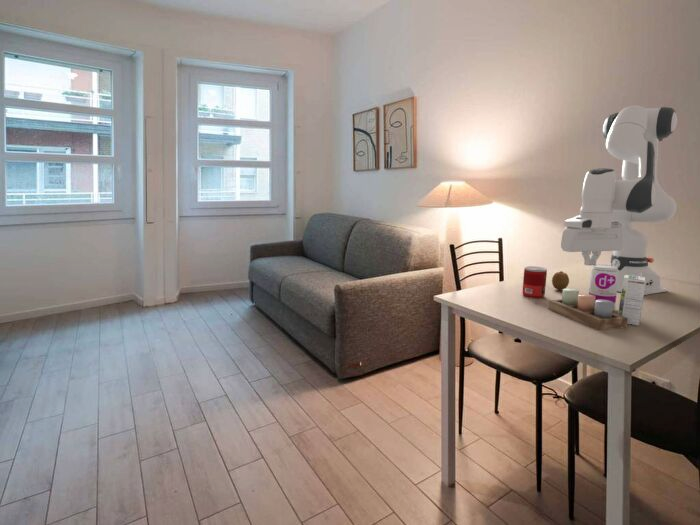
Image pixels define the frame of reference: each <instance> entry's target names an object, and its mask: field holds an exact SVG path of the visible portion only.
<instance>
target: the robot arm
mask: <svg viewBox="0 0 700 525" xmlns="http://www.w3.org/2000/svg"><path fill="white" fill-rule="evenodd" d="M677 125H678V116H677V111H676V110H675V109H674V108H673V107H666V106H661V107H649V108H647V107H644V106H643V105H638V104H637V105H636V104H634V105H628V106H626V107H624V108H622V109H621V111H619V112H615V113H612V114H610V115H609V116H608V117H607V118H605V120H604V123H603V126H602V133H603V137H604V139H605V148H606V150H607V152H608V153H609V155H611V157H613V158H615V159H617V160H620V161H622V166H621V180H619V179H617V178H616V170H615V169H613V168H595V169H593V168H592V169H590V170H588V171H587V172H586V174H585V177H584V181H583V184H582V190H581V197H580V198H581V206H580V210H579V215H575V216H574V217H571V218H568V219H566V220H564V227H565V228H564V229H563V231H562V234H561V240H560V241H561V242H560V247H561V250H562V251H563V252H568V253H579V252H580V253H581V255H582V257H583V259H584V260H583V261H584V262H583V264H584V266H594V265H597V260H598V259H599V258H600V256H601V255H602V253H601V252H612V254H611V257H610V264H611V266H616V267H618V270H619V279H618V287H617V292H618V293H621V291H622V286H623V280H624V276H625V275H633V276H640V277H645V278H646V283H645V291H644V296H647V295H653V294H659V293H665V292H667V290H668V289H667V288H665V287H663V286H660V285H661V278H660V276H659V274H658V273H656V271H655V270H653V269H652V268H650V266H649V263H651V264H652V263H654V261H655V259H654V257H649V256H648V257H647V256H646V255H647V248H648V241H649V239H648V238H647V235H645V234H644V233H643V232H641V231H639V230H637V229H635V228H634V227H633V225H632V223H633V222H634V223H651V224H652V223H662V222H668V221H669V220H671V219H672V218H674V215H675V214H676V212H677V203H676V201H675V199H674V198H673V197H672V196H671V195H669V194H668V193H666V192H665V191H664V190H663V188H662V187H661V185H660V183H659V181H658V161H659V142H662V141H663V139H666V138H668V137H669V136H671V135H672V134H673V133H674V130H675V129H676V126H677ZM591 254H592V255H591ZM590 256H591V257H590Z"/></svg>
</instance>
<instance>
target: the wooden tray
mask: <svg viewBox="0 0 700 525" xmlns="http://www.w3.org/2000/svg"><path fill="white" fill-rule="evenodd" d="M547 308H548V309H549V310H551V311H553V312H555V313H558V314H560V315H562V316H565V317H567V318H570V319H572V320H575V321H577V322H578V323H582V324H584V325H586V324H587V325H586V326H588V325H589V326H588V327H590V328H593V329H595V328H596V329H595V330H598V331H599V330H602V329H603V330H611V328H614V329H622V328H621V327H625V328H627V327H628V324H627V320H628V318H627V317H624V316H621V315H618V313H615V312H613V314H612V318H605V319H602V318H600V317H597V316H594V311H588V312H584V311H581V310H579V309H577V305H569V306H568V305H566V304H563V303H562V298H561V299H559V298H558V299H548V305H547ZM594 309H595V306H594ZM603 330H602V331H603Z"/></svg>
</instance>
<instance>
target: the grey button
mask: <svg viewBox="0 0 700 525" xmlns="http://www.w3.org/2000/svg"><path fill="white" fill-rule="evenodd" d="M613 306H614V302H612V301H609V300H602V299H598V300H595V309H594V316H597V317H600V318H602V319H605V318H612V314H613V313H614V309H613Z"/></svg>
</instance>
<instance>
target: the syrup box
mask: <svg viewBox="0 0 700 525" xmlns="http://www.w3.org/2000/svg"><path fill="white" fill-rule="evenodd" d="M645 283H646V278H645V277H640V276H633V275H625V276H624V280H623V286H622V291H621V292H620V298H619V307H618V313H617V314H618V315H621V316H624V317H627V318H628V320H627V325H631V324H632V325H633V326H640V321H641V314H642V311H643V309H642V308H643V302H644V296H645V295H644V291H645ZM632 325H631V326H632Z"/></svg>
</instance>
